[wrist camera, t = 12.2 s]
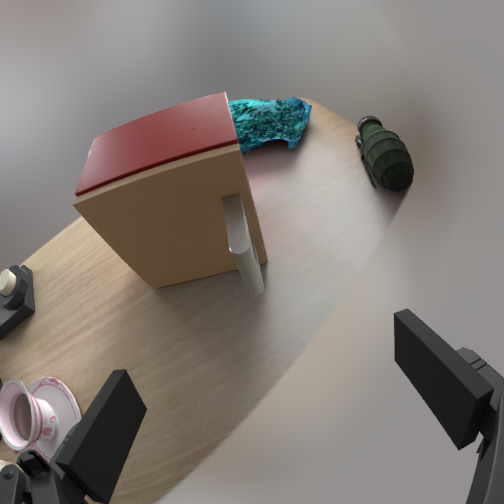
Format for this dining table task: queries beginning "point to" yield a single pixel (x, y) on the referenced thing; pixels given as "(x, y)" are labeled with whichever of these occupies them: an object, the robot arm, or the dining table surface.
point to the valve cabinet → (158, 141)
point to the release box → (17, 300)
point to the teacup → (37, 415)
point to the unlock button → (7, 282)
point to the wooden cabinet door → (182, 220)
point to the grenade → (384, 155)
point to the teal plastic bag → (269, 121)
